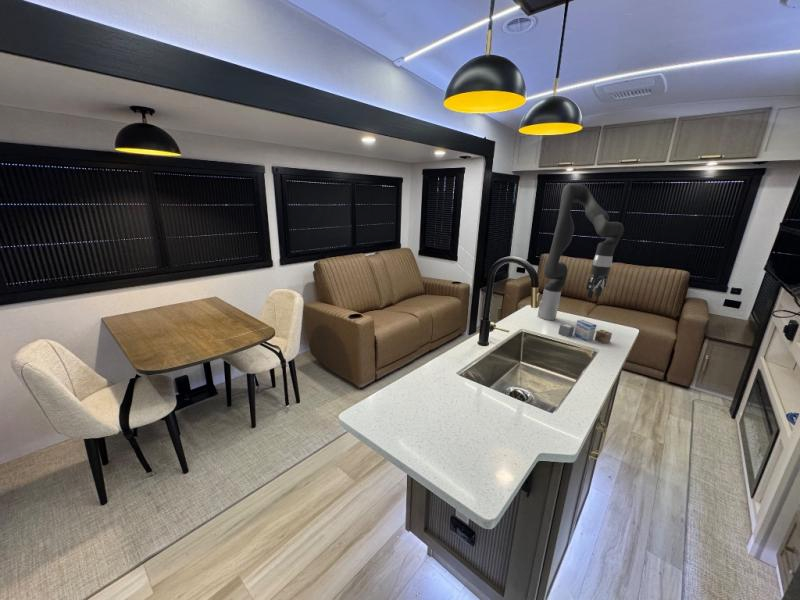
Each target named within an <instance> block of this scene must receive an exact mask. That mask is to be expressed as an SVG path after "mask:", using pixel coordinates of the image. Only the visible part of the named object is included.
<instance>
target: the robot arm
mask: <svg viewBox="0 0 800 600" xmlns="http://www.w3.org/2000/svg"><path fill="white" fill-rule="evenodd" d="M560 196H561V197H560V203H559V210H558V211H559V212H558V217H557V222H556V226H555V228H554V229H555V230H554V234H553V238H552V242H551V247H550V250H549V254H548V256H547V260H546V262H545V265H544V273H543V274H544V276H545V278H546V279H549V281H548V282H546V283H545V284H544V286H543V292H542V293H543V294H542V296H541V297H542V298H541V300H540V301H539V306H538V312H537V317H539V318H541V319H543V320H547V321H555V320H557V315H558V310H559V306H560V300H561V294H562V290H563V288H564V287H565V285H566V284H565V283H566V279H567V277H568V267H567V265H566V263H565V262H560V259H561V256H562V255H563V253H564V251H566V249H567V248H568V247H569V245H570V243H571V242H572V240H573V236H574V232H575V224H574V221H573V217H572V211H571V210H572V206H573V205H572V204H573V203H579V204H580V205H582V206H583V207H584V212H585V216H586V218H587V219H588V220H589V221H590V222H591V223H592V224H593V227H594V229H595V232H596V234H597V235H599V236H600V237H602V238H606V239H605V240H604V241H601V242H599V243H598V244H597V245H596V246H597V247H596V251H595V255H594V257H593V262H592V265H591V270H590V274H591V275H592V277H589V278H588V281H587V284H586V290H587V295H586V298H587V299H590V300H591V299H593V296H594V293H595V296H596V297H601V296H602V291H603V289H604V288H606V286H607V282H608V277H609V274H610V271H611V267H612V264H613V258H614V257H613V256H614V253H615V249H616V247H617V245H618V243H619V242H620V240H621V238H622V236H623V234H624V231H625V230H624V229H625V228H624V225H623V223H621V222H619V221H609V220H610V215H609V214H608V213H607V212H606V210H604V209H603V207H602V206H600V204H599V203H598V202H597V201H596V200H595V198H594V196H593V195H592V193H591V191H590V189H589V188H588V187H587V185H586V184H582V183H573V182H572V183H567V184H566V185H565V186H564V187H563V189H562V193H561V195H560ZM595 289H596V292H594V291H595Z"/></svg>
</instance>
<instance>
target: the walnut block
mask: <svg viewBox="0 0 800 600" xmlns="http://www.w3.org/2000/svg"><path fill="white" fill-rule="evenodd" d="M595 332H596V333H595V335H594V341H596V342H598V343H601V344H602V345H603V344H604V345H606V344H608V343H611V339H612V335H613V332H611V331H608V330H604V329H599V330H596V331H595Z"/></svg>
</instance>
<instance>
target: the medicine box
mask: <svg viewBox="0 0 800 600" xmlns="http://www.w3.org/2000/svg"><path fill="white" fill-rule="evenodd" d="M574 327H575V328H574V332H573V337H576V338H578V339H581V340H583V341H584V342H585V341H586V342H591V341H593V340H594V338H595V334H596V333H595V332H596V329H597V324H595V323H592V322H590V321H587V320H585V319H577V320H576V324H575V326H574Z"/></svg>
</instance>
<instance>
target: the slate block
mask: <svg viewBox="0 0 800 600" xmlns="http://www.w3.org/2000/svg"><path fill="white" fill-rule="evenodd" d="M575 327H576V326H574V325H571V324H568V323H563V324H562V323H561V324H560V325H559V328H558V335H561V336H563V337H565V336H566V338H569V337H572V336H574V331H575Z"/></svg>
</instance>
